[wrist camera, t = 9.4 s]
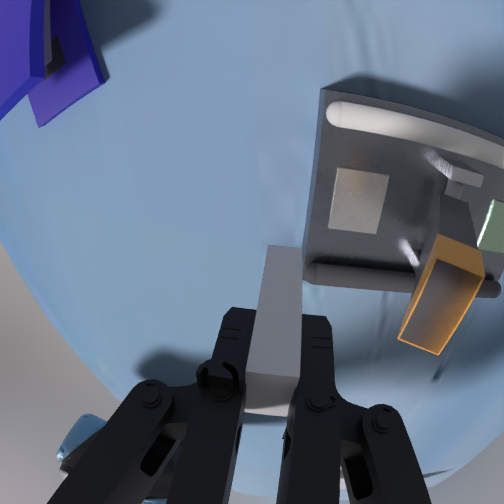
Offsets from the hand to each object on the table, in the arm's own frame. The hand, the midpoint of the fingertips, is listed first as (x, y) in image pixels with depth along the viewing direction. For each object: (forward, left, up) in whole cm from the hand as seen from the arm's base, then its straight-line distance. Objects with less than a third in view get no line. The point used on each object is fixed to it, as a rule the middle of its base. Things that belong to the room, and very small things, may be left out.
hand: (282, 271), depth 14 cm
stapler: (-27, +20, -15) cm, 37 cm away
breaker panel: (+13, 0, -14) cm, 19 cm away
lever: (+13, 0, -9) cm, 16 cm away
